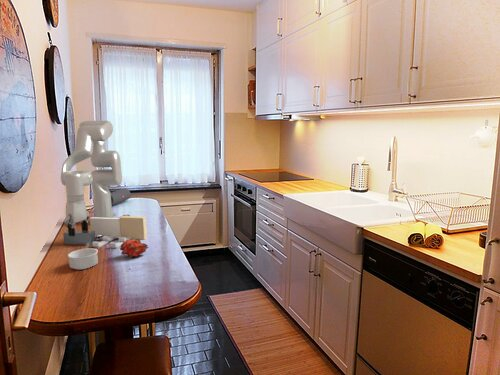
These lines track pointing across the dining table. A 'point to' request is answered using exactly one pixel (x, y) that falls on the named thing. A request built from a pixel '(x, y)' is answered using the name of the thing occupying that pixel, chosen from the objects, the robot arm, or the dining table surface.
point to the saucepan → (83, 258)
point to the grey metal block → (79, 238)
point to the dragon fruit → (133, 248)
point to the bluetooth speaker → (119, 196)
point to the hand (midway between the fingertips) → (78, 233)
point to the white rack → (118, 229)
